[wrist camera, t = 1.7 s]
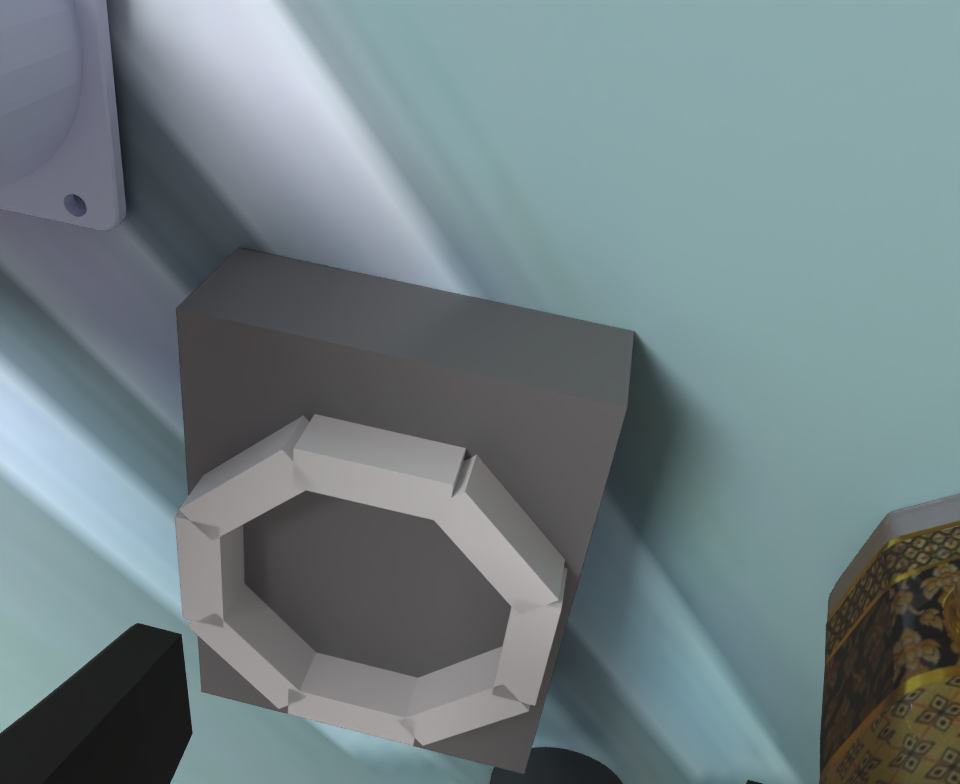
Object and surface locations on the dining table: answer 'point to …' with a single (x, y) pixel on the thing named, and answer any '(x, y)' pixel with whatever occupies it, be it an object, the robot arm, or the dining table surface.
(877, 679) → the ceramic cup
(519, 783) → the lens
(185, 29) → the dining table surface
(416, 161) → the dining table surface
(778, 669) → the dining table surface
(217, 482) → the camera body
